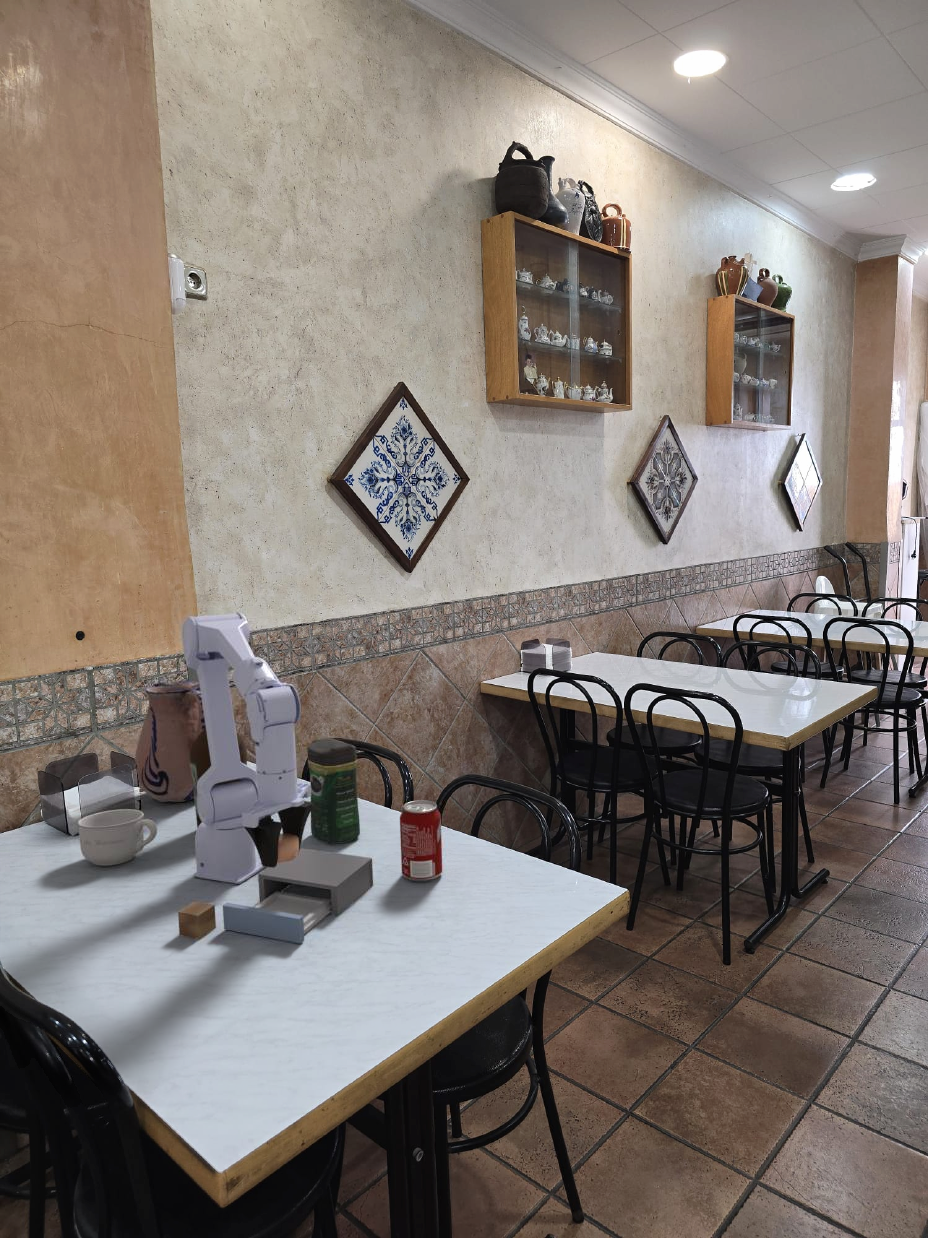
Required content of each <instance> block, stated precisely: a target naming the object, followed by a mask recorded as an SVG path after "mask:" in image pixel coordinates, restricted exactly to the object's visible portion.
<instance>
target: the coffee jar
mask: <svg viewBox="0 0 928 1238" xmlns="http://www.w3.org/2000/svg"><path fill="white" fill-rule="evenodd" d="M357 754H358V753H357V749H356V746H355V745H353V744H350V743H346V742H344V741H341V740H339V739H334V738H333V737H326V738H324V737H323V738H320V739H314V740H312V742H311V743H310V744H309V746H308V748H307V765H308V771H309V779H310V780H309V781H310V782H309V784H311V796H310V802H312V807H313V808H312V810H311V812H310V833H311V835H312V836H313V837H314V838H315V839H316V840H319V841H321V842H323V843H325V844H328V845H329V844H330V845H331V844H340V843H341V844H346V843H349V842H351V841H353V840H355V839H356V838H358V837H359V836H360V834H361V827H360V825H361V824H360V815H359V814H360V811H359V801H358V800H359V799H358V789H357V788H358V787H357V785H358V784H357V767H358V756H357Z"/></svg>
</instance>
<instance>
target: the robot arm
mask: <svg viewBox="0 0 928 1238" xmlns="http://www.w3.org/2000/svg"><path fill="white" fill-rule="evenodd" d="M181 628H182V629H181V641H182V649H183V656H184V660H185V662H186V667H188V668H190V669H193V670H195V671H196V674H197V679H198V682H199V683H200V690H201V697H202V704H203V711H204V718H205V725H206V732H207V739H208V746H209V753H210V760H211V767H210V768H209V769H208V770H207V771H206V772H205V773H204V774H203V775H202V776H201V777H200V779H199V780H198V782H197V809H198V814H199V817H200V819H201V821H202V823H201V824H200V825H199V827H198V829H197V828H196V832H195V837H194V844H195V845H194V848H195V849H194V850H195V861H196V863H195V864H196V872H194V873H193V877H195V878H199V879H206V880H212V881H213V880H214V881H217V882H219V881H220V882H224V883H231V884H238V885H239V884H241V883H243V882H245V881H246V880H247V879H249V878H251V877H252V876H254V875H255V874H257V873H258V872H261V870H262V869H264V868H265V869H266V867H267V868H268V867H272V868H274V867H276V866H277V861H278V842H279V836H280V834H281V832H282V834H293V835H296V836H298V838H299V851H300V848H301V845H302V841H303V836H304V831H305V827H306V825H307V821H308V818H309V817H310V815H311V810H312V808H313V807H312V802H311V801H309V800H305V799H308V798H311V784H310V783H306V782H299V783H298V771H297V770H298V769H297V750H296V734H295V733H296V732H295V731H296V730H295V724H297V723H298V722H299V721H300V718H301V713H302V712H301V710H302V708H301V707H302V705H301V700H300V695H299V693H298V691H297V689H296V688H295V686H294V685H293V684H291V683H287V682H281V681H280V680H279V678H278V677H277V675H276V674H275V672H274V671H273V669H272V668H271V667H270V665H269V664H268V663H267V660H265V659H263V658H261V657H258V656H257V657H256V656H255V654H254V652H253V650H252V648H251V647H250V644H249V643H250V635H251V632H250V625H249V621H248V619H247V617H246V616H245V615H244V613H242V612H241V611H240V612H235V613H228V614H227V613H226V614H225V613H224V614H214V615H213V614H211V615H203V616H202V615H201V616H191V615H190V616H186V618H185V619H184V621H183V622H182V627H181ZM230 667H231V668H232V669H233V673H232V681H233V684H234V685H235V687H236V688H237V690H238V691H239V693H240V695H241V696H242V697H243V700H244V701H245V703H246V706H245V707H246V710H245V711H246V716H247V719H248V720H247V721H248V723H249V727H250V735H251V739H252V740H254V749H255V767H256V770H255V769H254V768H252V766H251V767H250V766H249V765H248V764H247V765H245V764H243V763H242V762H241V761H240V754H239V747H238V740H237V734H236V732H237V728H236V721H235V714H234V709H233V701H232V694H231V687H230V681H229V674H228V671H229V668H230ZM239 778H240V779H242V780H243V781H238V782H233V783H228V784H223V785H218V786H214V787H212V786H213V785H214V784H216V783H219V782H224V781H229V780H234V779H239ZM275 814H277V815H278V818H279V820H280V821H275V820H274V818H272V816H273V815H275ZM256 850H257V853H258V856H259V859H260V861H256V860H257V859H256V858H257V857H256Z"/></svg>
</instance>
